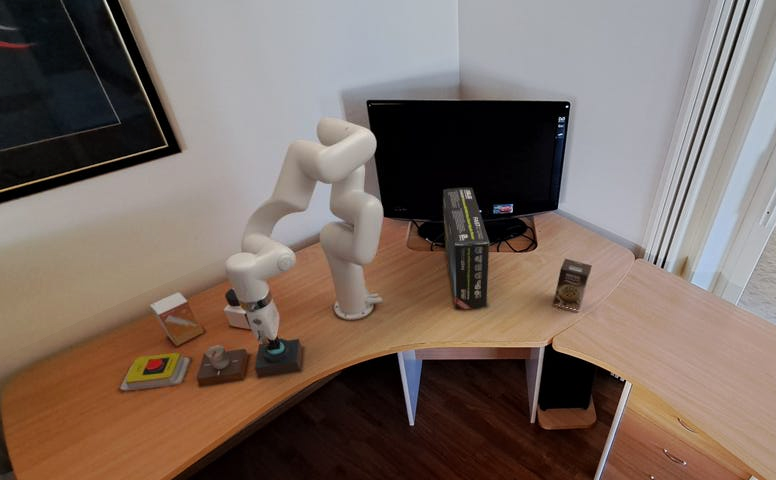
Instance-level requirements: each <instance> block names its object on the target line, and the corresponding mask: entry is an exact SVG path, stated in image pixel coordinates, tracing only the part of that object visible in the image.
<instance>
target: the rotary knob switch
mask: <svg viewBox="0 0 776 480" xmlns="http://www.w3.org/2000/svg"><path fill="white" fill-rule="evenodd" d="M225 351H226V353H227V355H228V357H229V359H230V363H229V364H228V365H227V366H226V367H224V368H222V369H215V368H213V366H212V364H211V362H210V361H209V359H208V357H207V355H206V353H203V356H202V359H201V362H200V365H199V368H198V371H197V375H196V379H195V380H196V382H197V383H198V385H199V386H207V385H214V384H215V385H216V384H221V383H228V382H234V381H241V380H244V378H245V373H246V369H247V364H248V359H249V354H248V352H247V349H246V348H241V349H232V350H225Z"/></svg>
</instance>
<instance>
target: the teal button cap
mask: <svg viewBox="0 0 776 480" xmlns="http://www.w3.org/2000/svg"><path fill="white" fill-rule="evenodd" d="M280 344H281V345H280V349H277V350H268V349H267V351H268V354H270V355H276V354H279V353H281V352H282V351H283V350H284V349H285V347H284V345H283V343H281V342H280Z"/></svg>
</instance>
